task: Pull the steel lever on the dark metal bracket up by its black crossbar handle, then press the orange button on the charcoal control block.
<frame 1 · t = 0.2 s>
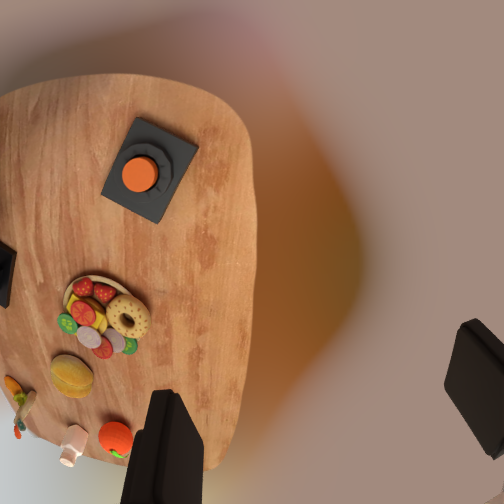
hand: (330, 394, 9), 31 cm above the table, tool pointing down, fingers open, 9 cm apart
rattle: (24, 387, 49), on the table
control block: (150, 168, 36), on the table
clementine: (121, 426, 53), on the table
button: (140, 174, 32), point 4 cm above the table, slide at 0.1 cm
bread roll: (74, 371, 47), on the table
toy food set: (105, 312, 43), on the table
salt shaker: (78, 429, 53), on the table
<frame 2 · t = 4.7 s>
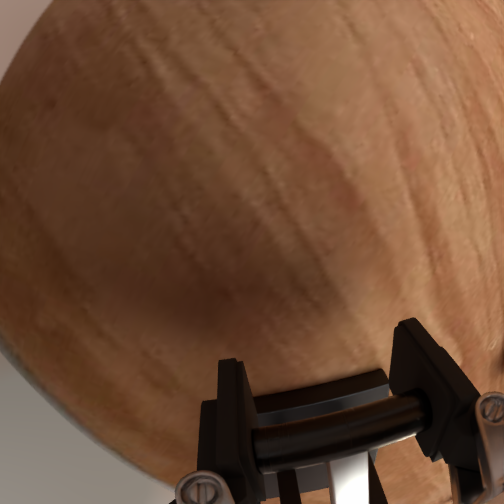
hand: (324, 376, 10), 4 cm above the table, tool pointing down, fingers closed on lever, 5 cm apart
bracket: (314, 442, 17), on the table
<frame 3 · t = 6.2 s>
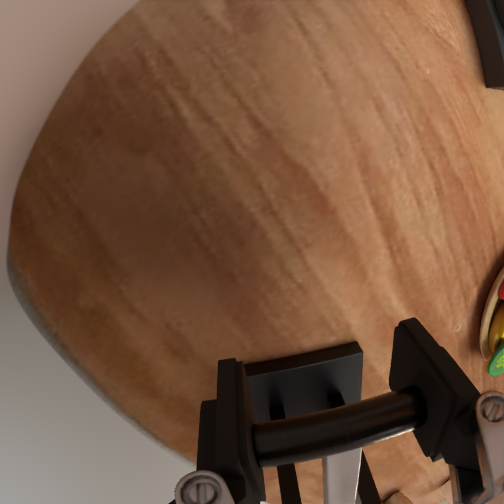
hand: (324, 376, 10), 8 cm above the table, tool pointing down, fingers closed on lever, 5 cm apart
rattle: (378, 498, 31), on the table
bracket: (304, 408, 22), on the table
salt shaker: (453, 477, 32), on the table
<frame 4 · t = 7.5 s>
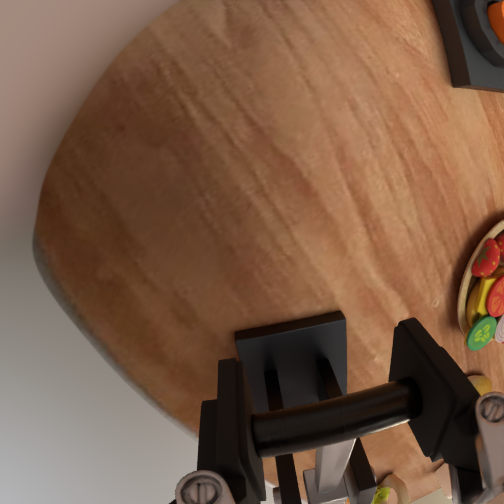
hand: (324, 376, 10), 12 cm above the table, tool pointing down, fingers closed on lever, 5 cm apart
rattle: (372, 480, 34), on the table
control block: (474, 33, 16), on the table
bread roll: (457, 400, 29), on the table
toy food set: (499, 278, 23), on the table
bracket: (296, 375, 25), on the table
lever: (329, 468, 12), point 12 cm above the table, hinge at 14.3°, touching gripper
salt shaker: (446, 463, 35), on the table
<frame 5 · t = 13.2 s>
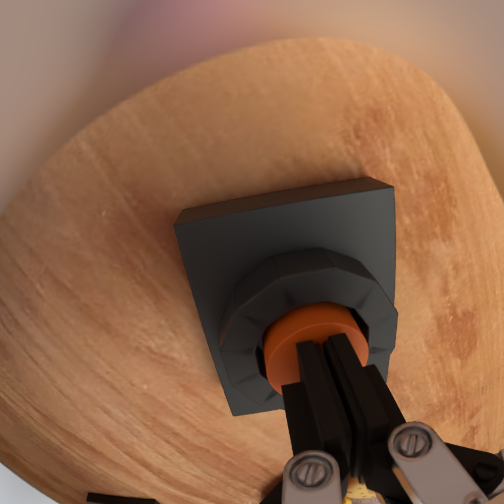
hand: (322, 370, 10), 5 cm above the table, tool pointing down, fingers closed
control block: (295, 297, 15), on the table
button: (314, 350, 11), point 4 cm above the table, slide at -0.5 cm, touching gripper
toy food set: (335, 485, 23), on the table
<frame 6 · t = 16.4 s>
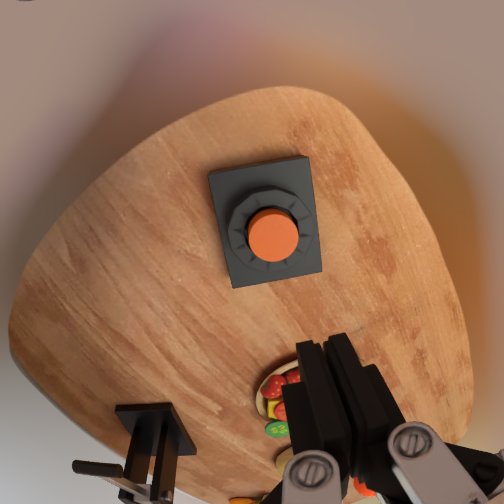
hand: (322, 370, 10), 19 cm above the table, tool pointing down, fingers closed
rattle: (254, 496, 47), on the table
control block: (266, 218, 28), on the table
clementine: (369, 464, 46), on the table
button: (272, 234, 24), point 4 cm above the table, slide at 0.1 cm
bread roll: (302, 455, 42), on the table
toy food set: (309, 389, 36), on the table
bracket: (158, 429, 38), on the table
lever: (126, 485, 24), point 12 cm above the table, hinge at 14.1°
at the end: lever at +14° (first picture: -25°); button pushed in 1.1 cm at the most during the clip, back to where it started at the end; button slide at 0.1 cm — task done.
